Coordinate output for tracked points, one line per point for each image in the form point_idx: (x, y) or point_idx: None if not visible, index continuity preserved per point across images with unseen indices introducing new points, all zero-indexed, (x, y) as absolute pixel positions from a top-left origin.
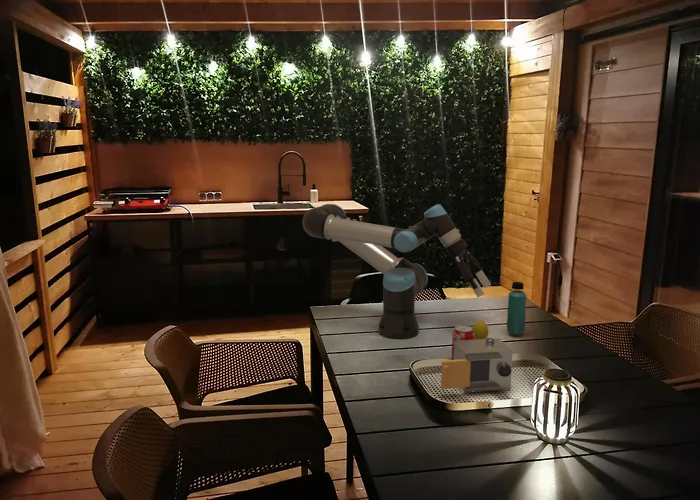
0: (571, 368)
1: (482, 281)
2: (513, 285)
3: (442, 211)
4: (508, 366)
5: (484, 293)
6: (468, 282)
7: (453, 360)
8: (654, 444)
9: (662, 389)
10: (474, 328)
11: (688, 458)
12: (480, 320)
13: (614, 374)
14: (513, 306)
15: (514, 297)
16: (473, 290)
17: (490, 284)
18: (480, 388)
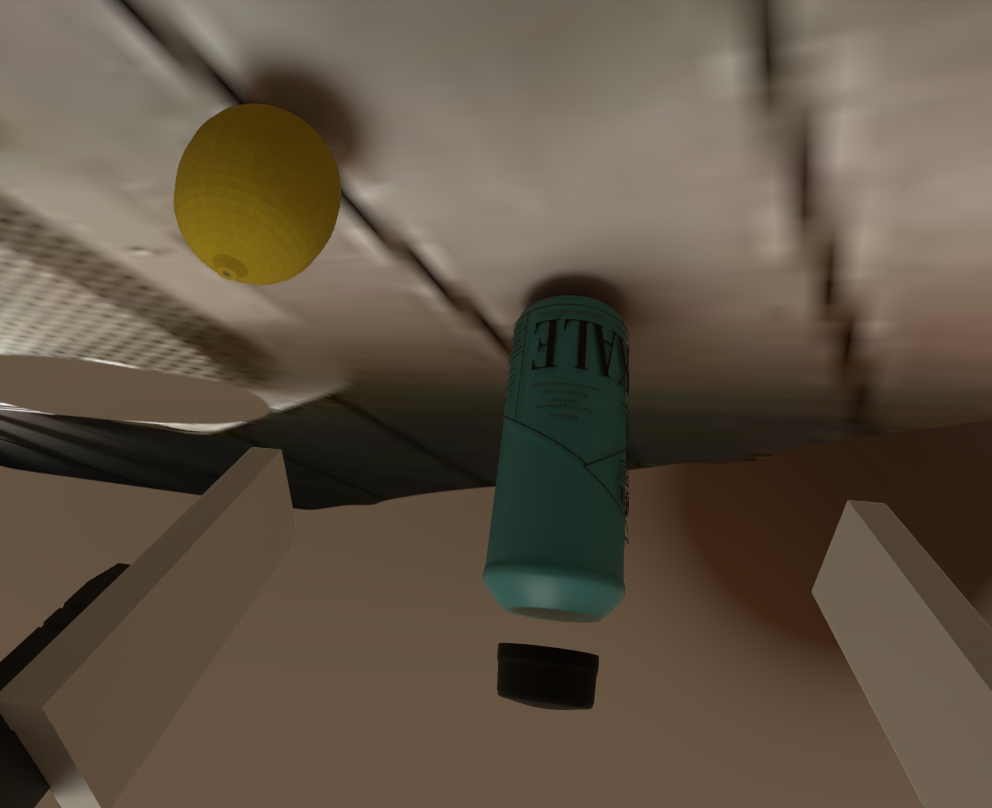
0: (304, 425)
1: (902, 622)
2: (508, 677)
3: None
4: None
5: (291, 538)
6: (4, 695)
7: None
8: (86, 465)
9: (334, 500)
10: (176, 180)
11: (97, 479)
12: (230, 272)
13: (347, 472)
14: (495, 493)
15: (483, 570)
16: (169, 529)
17: (814, 596)
18: None
